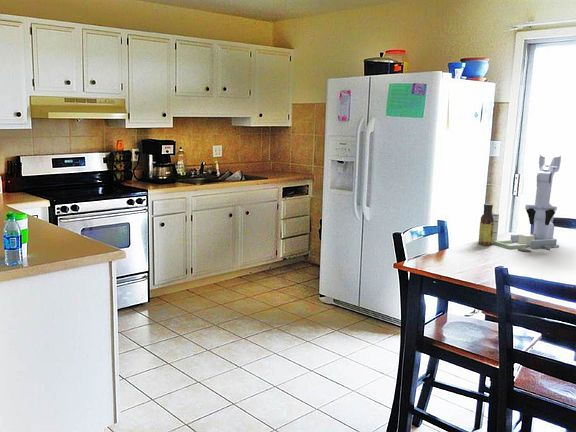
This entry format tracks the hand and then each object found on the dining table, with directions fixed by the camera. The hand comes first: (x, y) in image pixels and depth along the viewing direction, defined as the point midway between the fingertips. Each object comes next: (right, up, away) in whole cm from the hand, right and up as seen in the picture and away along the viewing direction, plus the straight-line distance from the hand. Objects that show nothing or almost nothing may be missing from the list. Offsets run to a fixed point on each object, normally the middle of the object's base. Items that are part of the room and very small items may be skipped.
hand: (539, 224), depth 264 cm
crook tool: (+6, -11, -2) cm, 13 cm away
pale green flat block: (-14, -10, +1) cm, 17 cm away
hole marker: (-11, -12, -8) cm, 18 cm away
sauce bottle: (-26, -10, +2) cm, 28 cm away
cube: (-4, -10, +5) cm, 12 cm away
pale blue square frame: (0, -10, +7) cm, 12 cm away
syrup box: (-20, -9, +10) cm, 24 cm away
